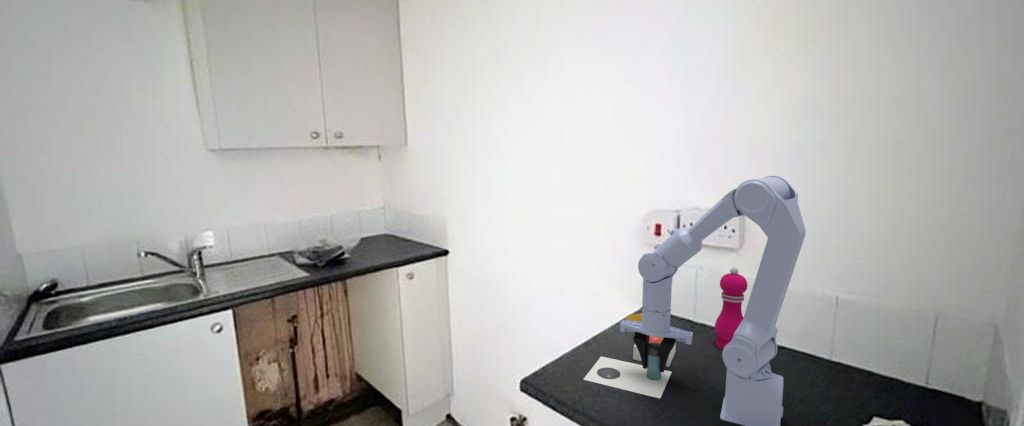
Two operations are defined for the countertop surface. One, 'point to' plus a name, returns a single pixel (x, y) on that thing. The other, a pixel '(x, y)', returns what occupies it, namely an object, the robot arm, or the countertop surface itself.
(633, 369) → the paper
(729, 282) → the pepper mill
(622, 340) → the countertop surface
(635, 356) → the button housing
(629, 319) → the bread roll
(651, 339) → the button
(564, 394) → the countertop surface
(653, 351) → the teal cylinder
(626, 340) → the countertop surface
